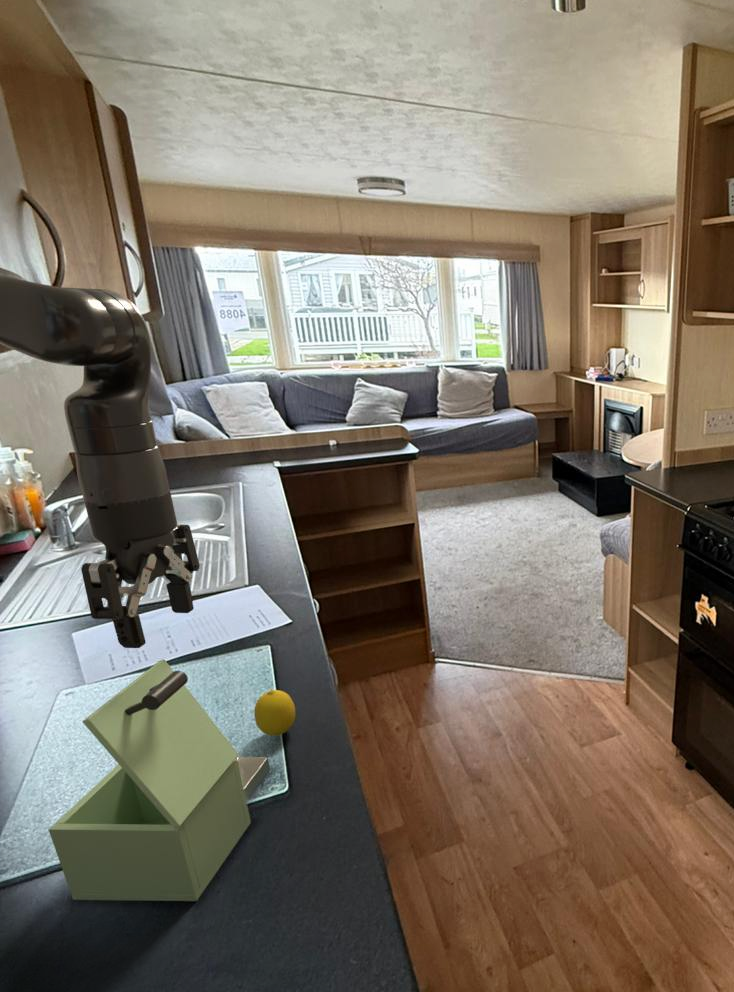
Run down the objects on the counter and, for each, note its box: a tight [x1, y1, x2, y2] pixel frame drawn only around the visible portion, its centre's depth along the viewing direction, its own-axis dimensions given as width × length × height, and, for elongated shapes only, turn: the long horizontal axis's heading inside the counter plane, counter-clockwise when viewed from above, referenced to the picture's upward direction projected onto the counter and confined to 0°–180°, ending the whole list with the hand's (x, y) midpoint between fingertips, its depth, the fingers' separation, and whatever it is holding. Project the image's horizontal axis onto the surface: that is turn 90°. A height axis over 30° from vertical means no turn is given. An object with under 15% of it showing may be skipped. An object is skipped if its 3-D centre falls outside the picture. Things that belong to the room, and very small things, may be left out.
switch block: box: [235, 755, 271, 803], centre depth 88 cm, size 11×8×4 cm
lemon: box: [254, 689, 296, 737], centre depth 99 cm, size 6×6×8 cm
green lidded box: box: [48, 759, 252, 902], centre depth 76 cm, size 14×12×10 cm
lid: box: [82, 658, 239, 828], centre depth 71 cm, size 15×12×5 cm
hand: (160, 628), depth 74 cm, fingers open, 8 cm apart
